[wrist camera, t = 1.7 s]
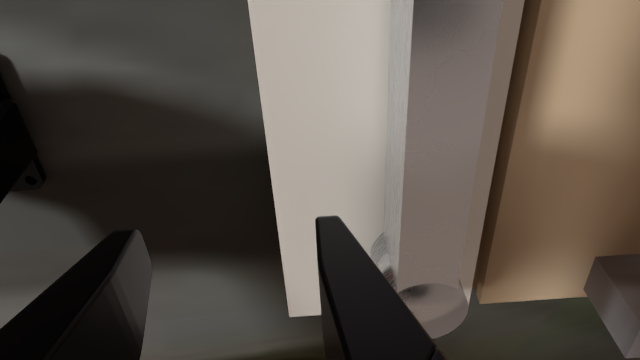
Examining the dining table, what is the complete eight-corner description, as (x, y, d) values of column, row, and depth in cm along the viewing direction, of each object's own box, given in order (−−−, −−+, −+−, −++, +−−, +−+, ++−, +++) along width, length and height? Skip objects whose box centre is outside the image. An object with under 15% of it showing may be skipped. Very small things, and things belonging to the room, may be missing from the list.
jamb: (289, 240, 27) (289, 317, 23) (220, -363, 14) (190, -435, 10) (441, 229, 27) (468, 304, 23) (515, -381, 14) (609, -460, 10)
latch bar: (443, 276, 21) (463, 337, 18) (369, 281, 21) (380, 343, 18) (495, -120, 13) (544, -103, 10) (374, -112, 13) (394, -94, 10)
